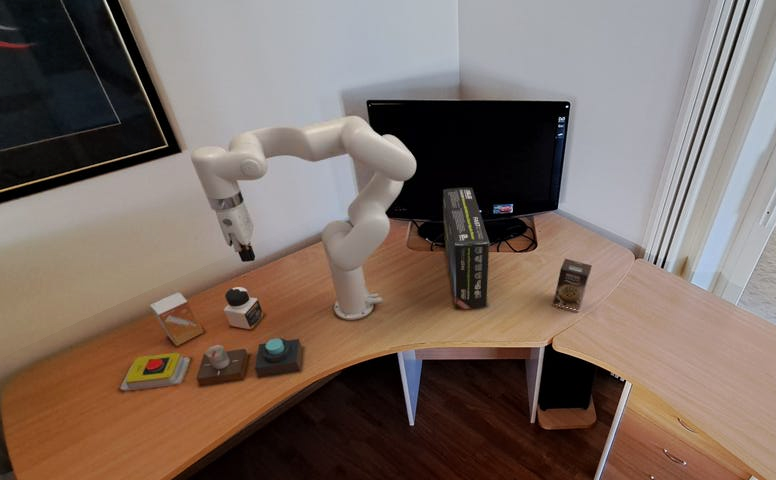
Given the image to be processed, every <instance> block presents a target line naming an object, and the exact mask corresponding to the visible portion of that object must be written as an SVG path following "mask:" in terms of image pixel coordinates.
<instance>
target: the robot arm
mask: <svg viewBox="0 0 776 480" xmlns="http://www.w3.org/2000/svg"><path fill="white" fill-rule="evenodd" d="M347 154H348V156H349V157H351V158H352V160H354V161H355V162H357V163H358V164H360V165H361V166H364V167H366V168H368V169H369V170H371V171H373V172H374V174H373V176H372V178H371V179H370V181H369V182H367V184H366V186H365V187H364V188H363V189H362V190H361V191H360V192H359V193H358V195H357V196H356V197H355V198H354V199H353V200H352V201H351V203H350V204H349V205H348V207H347V216H348V218H349V221H350V223H351V224H349V223H348V222H347V221H344V220H340V219H339V220H332V221H330V222H328V223H327V224H326V225H325V226H324V228H323V230H322V233H321V241H322V245H323V248H324V252H325V256H326V259H327V263H328V266H329V270H330V275H331V279H332V283H333V287H334V292H335V296H336V301H335V304H334V306H333V311H334V313H335V314H336V316H337V317H339V318H340V319H342V320H347V321H354V320H359V319H362V318H364V317H367V316H368V315H369V314H370V313H371V312H372V311H373V310H374V304H382V303H383V297H382V296H379V293H369V289H367V286H366V285H367V284H366V281H365V275H364V268H363V265H364V263H366V262H367V261H368V260H369V258H371V257H372V255H373V254H374V253H375V252H376V251H377V249H379V248H380V246H381V245H382V244H383V243H384V242H385V240H386V239H387V237H388V235H389V233H390V230H391V223H390V219H389V217H388V215H387V214H386V212H387V211H388V209H389V208H390V207H391V205H392V204H393V202H395V201H396V200H397V198H398V196H399V195H400V194H401V191H402V190H403V189H402V188H403V186H404V183H405V181H408V180H410V179H411V178H413V176H414V175H415V173H416V170H417V160H416V157H415V156H414V155H413V154H412V152H411V151H410V150H409V149H408V147H407V146H406V145H405V144H404V143H403V142H402V141H401V140H400V139H399V138H398V137H396V136H395V135H392V134H383V135H381V134H379V133H377V132H376V131H374V129H373V127H371V125H370V124H369V123H368V122H367V121H366V120H364V119H363V118H362V117H360V116H357V115H348V116H343V117H338V118H335V119H330V120H325V121H322V122H317V123H313V124H308V125H304V126H267V127H262V128H256V129H253V130H249V131H244V132H241V133H239V134H237V135H235V136H233V138H231V139H230V141H229V142H228V151H227V150H225V149H224V148H223V147H220V146H216V145H207V146H201V147H199V148H196V149H194V151H192V153H191V155H190V160H191V162H192V165H193V167H194V170H195V173H196V175H197V177H198V180H199V182H200V185H201V187H202V190H203V192H204V194H205V197H206V198H207V201H208V204H209V206H210V209H211V210H213V211H214V212H215V214H216V217H217V222H218V225H219V227H220V230H221V233H222V235H223V238H224V240H225V242H226V245H227V246H229V247H232V246H233V250H234V252H235V253H238V256H239V258H240V261H241V262H242V263H247V262H254V261H255V259H256V254H255V251H254V248H253V246H252V244H251V240H252V236H253V231H254V223H253V221H252V218H251V216H250V214H249V211H248V209H247V206H246V204H245V199H244V196H243V194H242V191H241V188H240V184H239V182H238V181H256V180H259V179H261V178H263V177H264V176H265V175H266V174H267V171H268V161H267V159H269V158H275V157H280V156H281V157H283V156H289V157H296V158H299V159H301V160H305V161H308V162H312V163H313V162H314V163H316V162H317V163H318V162H320V161H324V160H327V159H331V158H335V157H339V156H343V155H347Z"/></svg>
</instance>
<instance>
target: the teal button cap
mask: <svg viewBox="0 0 776 480" xmlns="http://www.w3.org/2000/svg"><path fill="white" fill-rule="evenodd" d="M281 339H282V338H272V339H270V340H268V341H267V342H266V343H267V344H266V349H267V351H268V353H269V354H271V355H276V354H279V353H281V352H282V351H283V350H284V345H283V342H282V340H281Z"/></svg>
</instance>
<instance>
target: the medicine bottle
mask: <svg viewBox="0 0 776 480" xmlns="http://www.w3.org/2000/svg"><path fill="white" fill-rule="evenodd" d="M224 296H225V299H226V302H227V305H226V306H225V308H223V312H224V314H225V316H226V318H227V320H228V322H229V324H230V326H231V327H235V328H240V329H245V330H253V328H254V327H255V326H256V325H257V323H259V321H260V320H261V319H262V318H263V316H264V315H265V314H264V311H263V309H262V307H261V304H260V301H259V299H258V298H257V297H250V294H249V292H248V289H246V287H242V286H235V287H232V288H230V289H229V290H227V291H226V293H225V295H224Z"/></svg>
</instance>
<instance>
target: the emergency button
mask: <svg viewBox="0 0 776 480" xmlns="http://www.w3.org/2000/svg"><path fill="white" fill-rule="evenodd" d="M190 363H191V359H190V358H189V357H183V356H182V354H180V352H172V353H163V354H155V355H146V356H145V355H144V356H139V357H136V358H135V360H134V362H133V364H131V366H130V368H128V372H127V373H126V375H125V378H124V379H123V381H122V383H121V385H120V387H119V388H120V390H121V391H122V392H127V391H137V390H142V389H143V390H144V389H152V388H160V387H167V386H177V385H179V384H182V382H183V381H184V378H185V376H186V373H187V370H188V367H189V365H190Z"/></svg>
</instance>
